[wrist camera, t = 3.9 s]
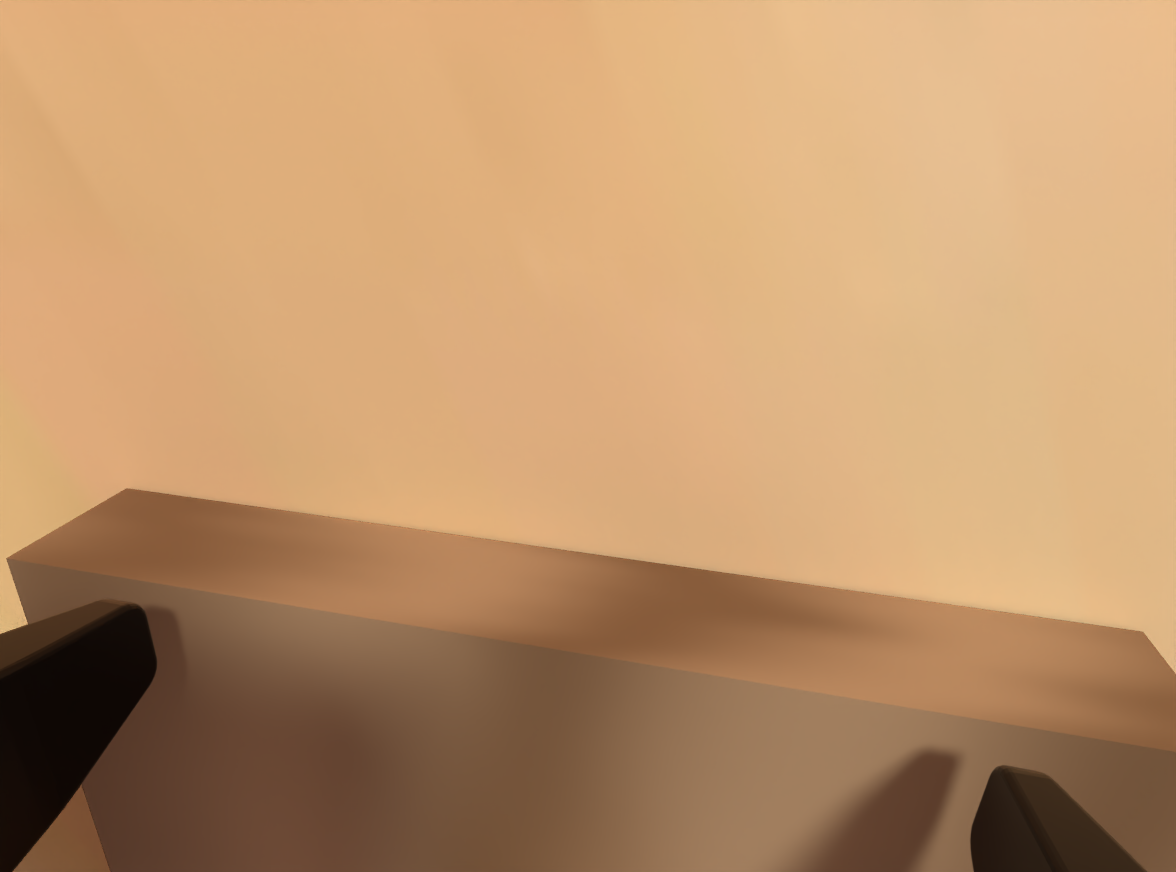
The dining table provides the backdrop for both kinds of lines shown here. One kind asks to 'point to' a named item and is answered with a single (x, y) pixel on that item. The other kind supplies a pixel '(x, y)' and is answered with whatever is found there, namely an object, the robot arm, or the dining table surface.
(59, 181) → the dining table surface
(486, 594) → the board
